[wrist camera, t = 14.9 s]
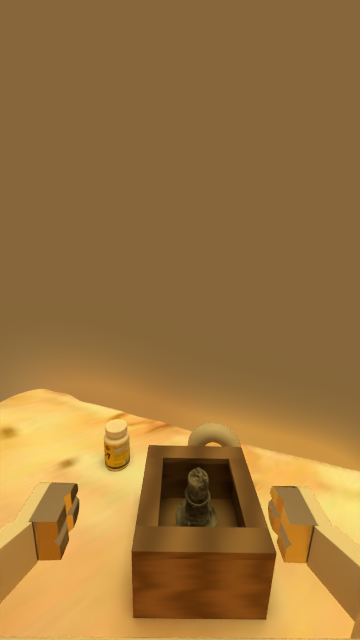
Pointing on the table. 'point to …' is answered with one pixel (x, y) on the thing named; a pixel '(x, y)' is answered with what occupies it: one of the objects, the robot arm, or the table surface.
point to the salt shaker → (196, 503)
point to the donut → (213, 435)
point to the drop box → (200, 540)
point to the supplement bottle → (116, 445)
